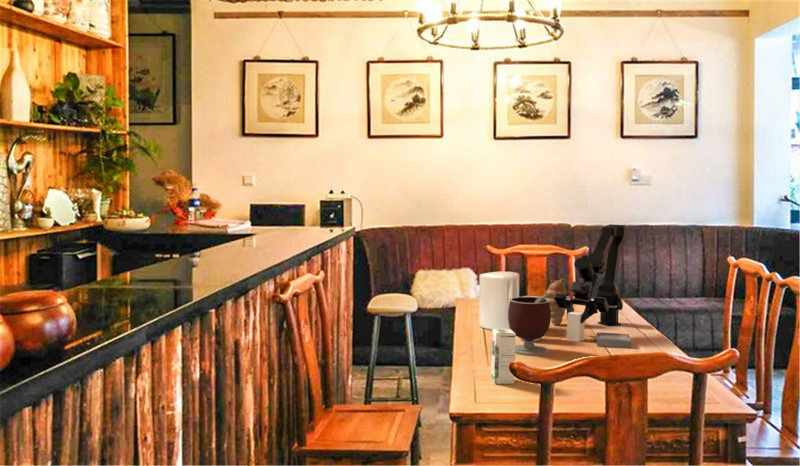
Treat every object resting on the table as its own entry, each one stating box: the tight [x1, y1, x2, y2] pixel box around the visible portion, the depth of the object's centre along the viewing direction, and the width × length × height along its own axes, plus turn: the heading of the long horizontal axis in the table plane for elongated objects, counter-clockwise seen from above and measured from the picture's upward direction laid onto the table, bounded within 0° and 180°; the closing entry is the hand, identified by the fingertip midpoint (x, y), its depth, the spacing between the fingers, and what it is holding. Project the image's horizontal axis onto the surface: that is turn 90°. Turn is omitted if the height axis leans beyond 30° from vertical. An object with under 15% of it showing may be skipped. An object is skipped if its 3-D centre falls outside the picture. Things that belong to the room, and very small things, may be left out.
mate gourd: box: [508, 294, 551, 357], centre depth 239 cm, size 16×14×20 cm
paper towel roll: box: [478, 271, 520, 331], centre depth 274 cm, size 15×14×22 cm
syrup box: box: [490, 329, 517, 385], centre depth 205 cm, size 6×6×14 cm
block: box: [566, 311, 586, 342], centre depth 257 cm, size 4×4×10 cm
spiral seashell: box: [544, 278, 568, 326], centre depth 282 cm, size 9×8×18 cm
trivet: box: [595, 331, 632, 349], centre depth 251 cm, size 11×11×3 cm
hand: (574, 321), depth 256 cm, fingers closed on block, 4 cm apart
